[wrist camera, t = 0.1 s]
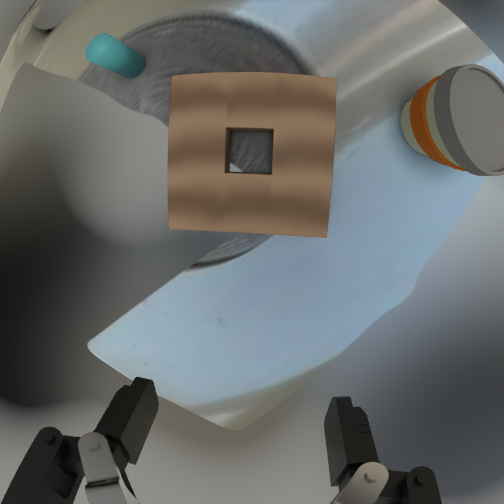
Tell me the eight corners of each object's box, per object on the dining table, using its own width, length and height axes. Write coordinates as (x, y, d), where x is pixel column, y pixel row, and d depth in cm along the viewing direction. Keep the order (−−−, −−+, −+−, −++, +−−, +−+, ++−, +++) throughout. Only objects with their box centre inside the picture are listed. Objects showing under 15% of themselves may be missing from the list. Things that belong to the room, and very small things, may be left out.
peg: (124, 57, 31) (88, 38, 22) (147, 52, 31) (114, 29, 21) (121, 80, 32) (83, 65, 23) (144, 75, 32) (109, 57, 23)
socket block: (181, 83, 32) (172, 75, 29) (329, 86, 31) (335, 78, 28) (178, 222, 39) (168, 228, 35) (321, 229, 38) (326, 237, 34)
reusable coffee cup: (463, 113, 30) (527, 106, 16) (444, 182, 34) (509, 198, 20) (400, 71, 29) (455, 39, 15) (378, 143, 33) (434, 139, 19)
